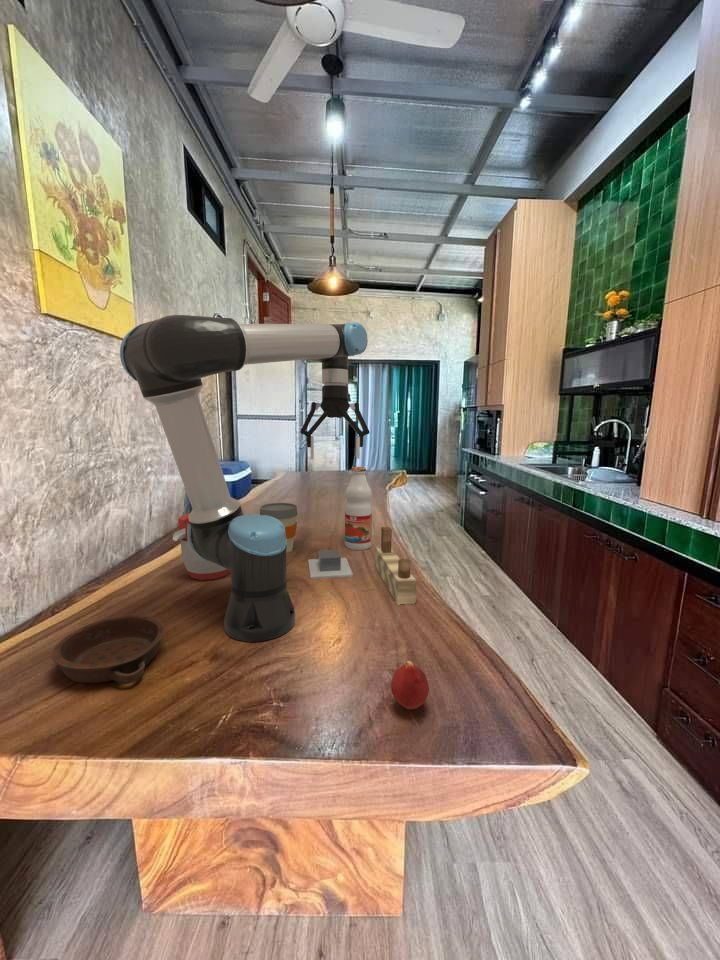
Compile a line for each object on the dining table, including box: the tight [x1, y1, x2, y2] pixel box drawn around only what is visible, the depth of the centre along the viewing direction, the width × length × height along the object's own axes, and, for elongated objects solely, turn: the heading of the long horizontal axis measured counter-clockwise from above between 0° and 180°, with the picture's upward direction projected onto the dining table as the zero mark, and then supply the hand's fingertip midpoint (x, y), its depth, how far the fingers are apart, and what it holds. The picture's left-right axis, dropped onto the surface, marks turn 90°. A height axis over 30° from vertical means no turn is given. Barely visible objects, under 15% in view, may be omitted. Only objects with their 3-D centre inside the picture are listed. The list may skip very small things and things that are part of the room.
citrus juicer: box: [172, 512, 231, 581], centre depth 114 cm, size 16×17×20 cm
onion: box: [390, 660, 430, 711], centre depth 63 cm, size 6×6×8 cm
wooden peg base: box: [374, 526, 418, 606], centre depth 110 cm, size 26×5×13 cm, turn 10°
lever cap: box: [317, 549, 342, 572], centre depth 120 cm, size 7×6×4 cm
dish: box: [51, 614, 166, 685], centre depth 74 cm, size 18×22×5 cm
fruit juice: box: [344, 466, 373, 551], centre depth 139 cm, size 9×9×28 cm
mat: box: [307, 557, 354, 580], centre depth 121 cm, size 14×12×1 cm
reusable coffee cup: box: [259, 502, 298, 554], centre depth 136 cm, size 13×13×15 cm
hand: (335, 458), depth 119 cm, fingers open, 13 cm apart
